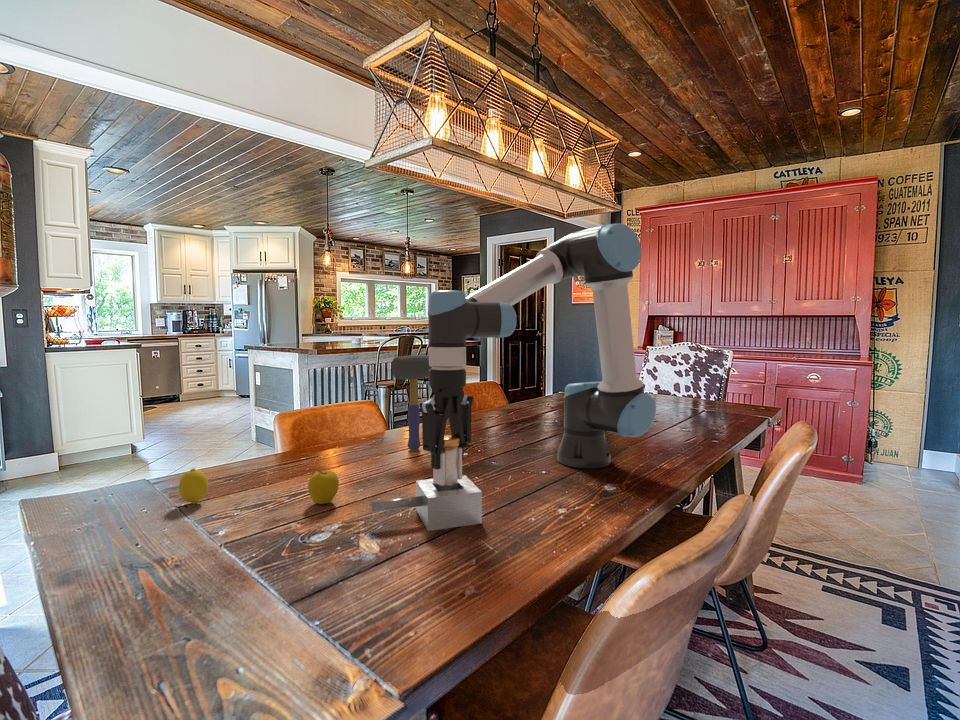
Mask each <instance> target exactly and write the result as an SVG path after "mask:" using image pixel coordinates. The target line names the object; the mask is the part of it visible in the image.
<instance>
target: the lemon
mask: <svg viewBox="0 0 960 720" xmlns="http://www.w3.org/2000/svg"><path fill="white" fill-rule="evenodd" d="M178 490H179V495H180V497H181V499H182V500H183V501H185V502H188V503H191V504H193V505H196V504H197V503H198V502H199V501H201V500H202V499H204V498H205V497H206V495H207V493H208V491H209V481H208V477H207V475H206V474H205V473H204V471H201V470H200V469H196V468H191V469H190V470H188V471H186V472H185V473H184V474H183V475H182V476H181V478H180V481H179V485H178Z"/></svg>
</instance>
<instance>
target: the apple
mask: <svg viewBox="0 0 960 720" xmlns="http://www.w3.org/2000/svg"><path fill="white" fill-rule="evenodd" d="M339 483H340V480H339V477H338V475H337V473H335V472H334V471H332V470H317V472H315V473H314V474H312V476H311V477H310V479H309V481H308V483H307V484H308V485H307V491H308V494H309V496H310V498H311V500H312V502H313V503H315V504H319V505H325V504H330V503H331V502H332V501H333V499H334V498H335V497H336V495H337V493H338V490H339V486H340V484H339Z"/></svg>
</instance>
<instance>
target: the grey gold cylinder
mask: <svg viewBox="0 0 960 720" xmlns="http://www.w3.org/2000/svg"><path fill="white" fill-rule="evenodd" d="M459 445H460V438H459V437H458V436H452V434H451V435H450V434H448V435H444V442H443V448H442V452H443V453H445V485H443V486H442V485H439V484H438V492H440V491H449V490H458V446H459Z"/></svg>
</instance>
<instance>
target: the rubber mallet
mask: <svg viewBox="0 0 960 720" xmlns="http://www.w3.org/2000/svg"><path fill="white" fill-rule="evenodd" d="M430 369H432V367H431V366H430V365H429V354H427V355H425V354H424V355H423V354H411V355H410V354H408V355H403V356H395V357H394V358H393V359H392V362H391V373H392V376H393V377H394V378H395V380H409V404H408V410H407V424H408V441H407V448H408V449H409V451H413V452H415V451H416V452H417V451H419V450H420V447H421V440H420V424H421V423H420V422H421V416H420V415H421V413H420V412H421V410H420V406H419V394H418V393H419V389H418V388H419V385H418V383H419V382H418V381H419V380H418V379H424V378H429V370H430Z"/></svg>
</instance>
